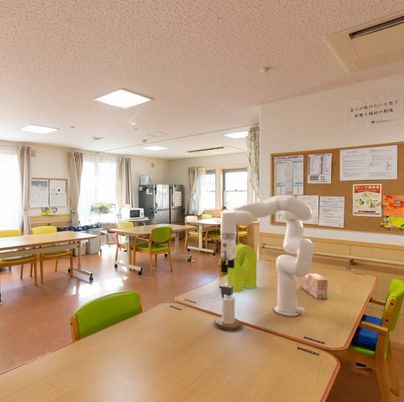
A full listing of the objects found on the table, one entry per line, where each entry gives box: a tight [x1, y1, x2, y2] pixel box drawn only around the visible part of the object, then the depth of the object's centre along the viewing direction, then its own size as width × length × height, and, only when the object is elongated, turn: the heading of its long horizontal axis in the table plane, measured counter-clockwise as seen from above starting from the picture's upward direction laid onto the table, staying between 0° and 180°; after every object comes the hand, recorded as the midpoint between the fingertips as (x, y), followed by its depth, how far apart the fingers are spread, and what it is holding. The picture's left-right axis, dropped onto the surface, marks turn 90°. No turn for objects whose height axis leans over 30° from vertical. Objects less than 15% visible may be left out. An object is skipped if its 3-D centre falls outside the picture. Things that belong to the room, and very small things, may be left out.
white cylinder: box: [216, 283, 241, 329], centre depth 145 cm, size 12×12×19 cm
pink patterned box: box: [300, 273, 329, 300], centre depth 190 cm, size 21×6×12 cm, turn 179°
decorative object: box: [227, 243, 258, 293], centre depth 199 cm, size 20×7×30 cm, turn 118°
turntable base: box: [214, 319, 243, 332], centre depth 146 cm, size 13×13×1 cm
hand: (227, 270), depth 145 cm, fingers open, 9 cm apart
